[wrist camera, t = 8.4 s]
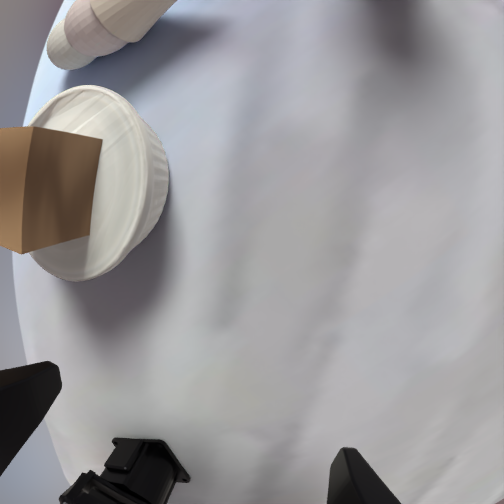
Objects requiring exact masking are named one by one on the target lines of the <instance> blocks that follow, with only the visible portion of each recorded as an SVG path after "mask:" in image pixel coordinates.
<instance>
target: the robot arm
mask: <svg viewBox="0 0 504 504" xmlns="http://www.w3.org/2000/svg"><path fill="white" fill-rule="evenodd" d="M61 388H62V381H61V376H60V370H59V367H58V366H57V365H56V364H54V363H52V362H50V361H44V362H40V363H35V364H30V365H26V366H21V367H16V368H11V369H5V370H0V476H1V475H2V473H3V472H4V471H5V469H6V468H7V466H8V465H9V464H10V462H11V461H12V459H13V458H14V457H15V456H16V454H17V453H18V452H19V450H20V449H21V448H22V446H23V445H24V444H25V442H26V441H27V440H28V438H29V437H30V436H31V434H32V433H33V432H34V430H35V429H36V428H37V427H38V425H39V424H40V423H41V421H42V420H43V418H44V417H45V415H46V413H47V412H48V410H49V409H50V407H51V405H52V404H53V402H54V401H55V399H56V397H57V396H58V394H59V393H60V391H61ZM112 443H113V444H114V446H115V447H116V448H115V449H114V451H113V452H112V454H111V455H110V457H109V458H108V459H107V461H106V462H105V464H104V466H105V469H104V471H103V472H102V474H101V475H100V476H98V475H97V474H95V472H93V471H92V470H89V472H88V473H83V472H82V474H81V475H80V476H79V478H78V479H77V481H76V482H75V483H74V484H73V485H72V486H71V487H70V488H69V489H67V490H66V491H65V492H64V493H63V494H62V495H61V496H60V497H59V501H60V504H167V502H168V499H169V497H170V495H171V492H172V490H173V488H174V485H175V483H176V482H183V483H188V482H189V481H190V477H189V476H188V474H187V473H186V472H185V470H184V469H183V467H182V466H181V465H180V463H179V462H178V460H177V459H176V458H175V456H174V455H173V453H172V452H171V450H170V449H169V447H168V446H167V444H166V443H165V442H164V441H162V440H155V439H129V438H113V440H112ZM327 504H401V503H400V501H399V500H398V499H397V498H396V497H395V496H394V494H393V493H392V492H391V491H390V490H389V488H388V487H387V486H386V485H385V484H384V482H383V481H382V480H381V479H380V478H379V476H378V475H377V474H376V473H375V471H374V470H373V469H372V468H371V467H370V465H369V464H368V463H367V462H366V460H365V459H364V458H363V457H362V455H361V454H360V453H359V452H358V450H357V449H355V448H348V447H343V448H341V449H340V450H339V452H338V454H337V456H336V457H335V459H334V461H333V462H332V464H331V467H330V476H329V487H328V498H327Z"/></svg>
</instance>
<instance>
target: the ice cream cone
mask: <svg viewBox="0 0 504 504" xmlns="http://www.w3.org/2000/svg"><path fill="white" fill-rule="evenodd" d="M176 1H177V0H76V1H75V2H74V3H73V5H72V6H71V8H70V9H69V11H68V13H67V15H66V18H65V19H63V20H62V21H61V22H59V23H58V24H57V25H56V26H55V28H54V29H53V30H52V32H51V34H50V36H49V38H48V42H47V54H48V57H49V59H50V60H51V62H52V63H53V64H54V65H55V66H57V67H58V68H61V69H65V70H74V69H79V68H82V67H84V66H86V65H88V64H89V63H91V62H92V61H93V60H94V59H95V58H96V57H97V56H105V55H108V54H111V53H114V52H116V51H118V50H119V49H121V48H122V47H124V46H125V45H126V44H127V43H129V42H138V41H139V40H141V39H142V38H143V36H144V35H145V34H146V33H147V32H148V31H149V29H150V28H151V27H152V26H153V25H154V24H155V23H156V22H157V21H158V19H159V18H160V17H161V16H162V15H163V14H164V13H165V12H166V11H167V10H168V9H169V8H170V7H171V6H172V5H173V4H174V3H175V2H176Z"/></svg>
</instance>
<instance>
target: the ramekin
mask: <svg viewBox="0 0 504 504" xmlns="http://www.w3.org/2000/svg"><path fill="white" fill-rule="evenodd" d="M29 126H35V127H41V128H47V129H53V130H58V131H64V132H69V133H74V134H79V135H84V136H89V137H94V138H99V139H103V140H102V145H101V151H100V156H99V162H98V168H97V174H96V181H95V188H94V196H93V205H92V214H91V225H90V235H88V236H85V237H81V238H77V239H74V240H70V241H66V242H63V243H59V244H56V245H52V246H48V247H45V248H42V249H38V250H35V251H31V252H29V254H30V255H31V257H32V258H33V259H34V260H35V261H36V262H37V263H38V264H39V265H40V266H41V267H42V268H43V269H44V270H46V271H47V272H49V273H50V274H52V275H54V276H56V277H58V278H61V279H64V280H68V281H73V282H79V281H86V280H91V279H94V278H96V277H99V276H101V275H103V274H105V273H107V272H109V271H110V270H112V269H113V268H114V267H116V266H117V265H118V264H119V263H120V262H121V261H122V260H123V259H124V258H125V257H126V256H127V255H128V253H129V252H130V251H131V250H132V249H133V248H134V247H135V246H137V245H138V244H139V243H141V241H142V240H143V239H144V238H146V237H147V236H148V234H149V232H150V231H151V230H152V229H153V228H154V226H155V224H156V223H157V222H158V220H159V217H160V215H161V213H162V211H163V207H164V204H165V202H166V196H167V193H168V184H169V170H168V161H167V158H166V154H165V150H164V148H163V146H162V143H161V141H160V140H159V138H158V136H157V134H156V133H155V132H154V131H153V130H152V128H151V127H150V126H149V125H148V124H147V123H146V122H145V121H144V120H143V119H142V118H141V117H140V116H139V114H138V112H137V111H136V110H135V109H134V107H133V106H132V105H131V104H130V103H129V102H128V101H127V100H126V99H125V98H123V97H122V96H121V95H119V94H118V93H116V92H114V91H112V90H109V89H107V88H104V87H101V86H96V85H82V86H77V87H73V88H70V89H68V90H65V91H63V92H61V93H60V94H58V95H56V96H55V97H53V98H52V99H51V100H50V101H48V102H47V103H46V104H45V105H44V106H43V107H42V108H41V109H40V110H39V111H38V112H37V114H36V115H35V116H34V117H33V119H32V120H31V122H30V123H29V125H28V126H27V127H29Z"/></svg>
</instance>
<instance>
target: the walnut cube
mask: <svg viewBox="0 0 504 504" xmlns="http://www.w3.org/2000/svg"><path fill="white" fill-rule="evenodd" d="M102 140H103V139H99V138H94V137H89V136H84V135H79V134H74V133H69V132H64V131H58V130H53V129H47V128H41V127H35V126H29V127H13V128H0V246H2V247H5V248H7V249H9V250H12V251H14V252H17V253H19V254H25V253H28V252H31V251H35V250H38V249H42V248H45V247H48V246H52V245H56V244H59V243H63V242H66V241H70V240H74V239H77V238H81V237H85V236H88V235H90V225H91V214H92V205H93V196H94V188H95V181H96V174H97V168H98V162H99V156H100V151H101V145H102Z"/></svg>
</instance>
